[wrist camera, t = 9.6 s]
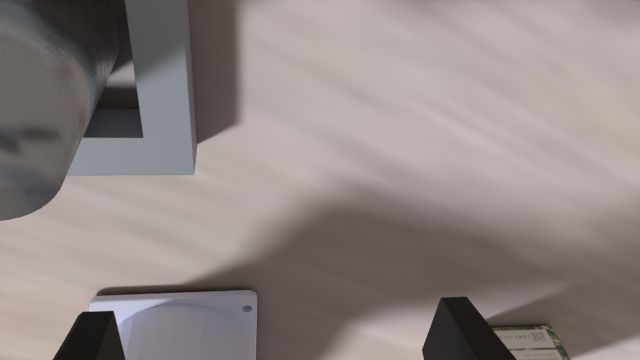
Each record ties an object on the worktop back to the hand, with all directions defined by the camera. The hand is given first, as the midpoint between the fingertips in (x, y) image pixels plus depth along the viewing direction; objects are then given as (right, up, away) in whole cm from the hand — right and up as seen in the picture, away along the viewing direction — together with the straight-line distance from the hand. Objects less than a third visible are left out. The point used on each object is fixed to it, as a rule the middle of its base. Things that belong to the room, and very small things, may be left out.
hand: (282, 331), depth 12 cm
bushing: (-8, +8, +6) cm, 13 cm away
